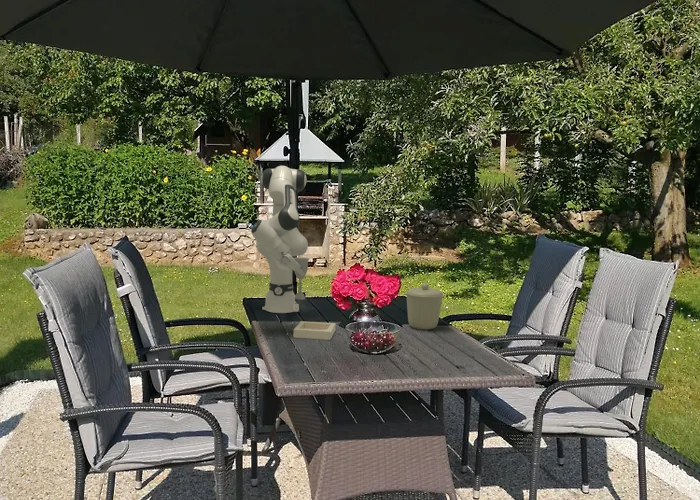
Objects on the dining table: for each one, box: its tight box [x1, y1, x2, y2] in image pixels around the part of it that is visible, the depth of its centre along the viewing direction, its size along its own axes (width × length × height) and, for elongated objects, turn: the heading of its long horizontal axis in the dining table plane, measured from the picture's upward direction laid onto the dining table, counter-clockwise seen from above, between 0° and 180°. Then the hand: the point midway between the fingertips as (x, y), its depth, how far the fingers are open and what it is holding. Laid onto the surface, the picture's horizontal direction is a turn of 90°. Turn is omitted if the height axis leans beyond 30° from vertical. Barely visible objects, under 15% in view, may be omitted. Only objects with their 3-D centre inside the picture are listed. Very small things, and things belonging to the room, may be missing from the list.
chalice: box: [293, 256, 310, 301], centre depth 304 cm, size 7×7×18 cm
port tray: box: [293, 320, 337, 341], centre depth 302 cm, size 16×16×4 cm
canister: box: [404, 282, 445, 331], centre depth 321 cm, size 18×18×21 cm
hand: (302, 273), depth 304 cm, fingers closed on chalice, 6 cm apart
